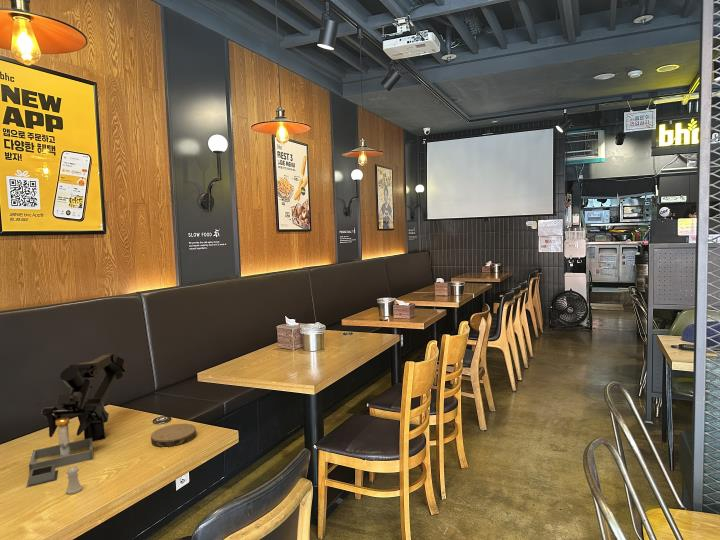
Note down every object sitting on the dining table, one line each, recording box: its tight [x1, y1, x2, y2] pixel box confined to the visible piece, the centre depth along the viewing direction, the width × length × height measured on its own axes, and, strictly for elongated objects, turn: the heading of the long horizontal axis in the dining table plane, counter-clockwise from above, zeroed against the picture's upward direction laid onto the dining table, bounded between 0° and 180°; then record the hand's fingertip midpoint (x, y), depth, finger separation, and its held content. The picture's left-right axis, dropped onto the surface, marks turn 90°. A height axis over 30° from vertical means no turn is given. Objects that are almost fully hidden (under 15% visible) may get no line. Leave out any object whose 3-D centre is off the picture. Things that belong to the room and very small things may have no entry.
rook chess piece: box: [65, 465, 83, 495], centre depth 143 cm, size 4×4×8 cm
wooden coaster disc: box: [150, 423, 197, 449], centre depth 181 cm, size 16×16×3 cm
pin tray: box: [28, 438, 94, 471], centre depth 165 cm, size 18×13×4 cm
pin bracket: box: [25, 464, 59, 488], centre depth 151 cm, size 8×8×4 cm
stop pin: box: [56, 416, 71, 457], centre depth 164 cm, size 4×4×14 cm
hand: (64, 436), depth 164 cm, fingers open, 9 cm apart
